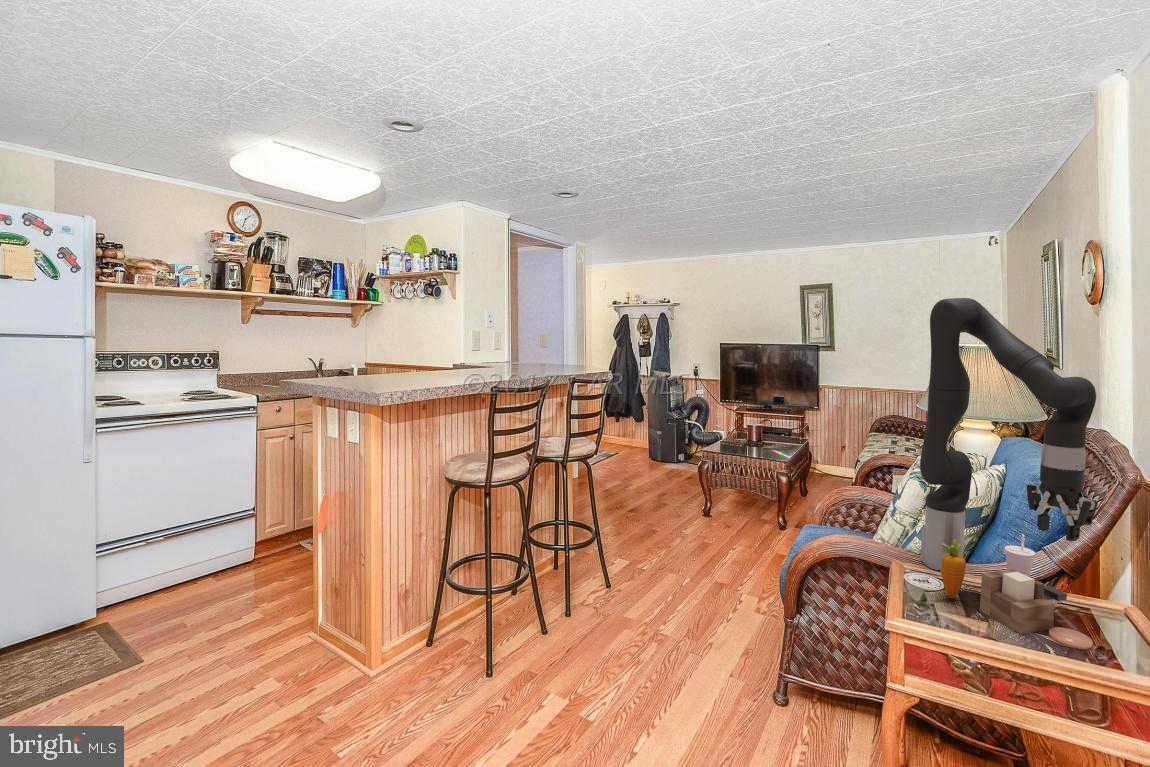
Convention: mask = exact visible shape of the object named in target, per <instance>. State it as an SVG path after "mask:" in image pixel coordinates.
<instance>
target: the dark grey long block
mask: <svg viewBox="0 0 1150 767" xmlns="http://www.w3.org/2000/svg"><path fill="white" fill-rule="evenodd" d="M1043 599H1045V600H1047V601H1050V602H1052V603H1054V604H1059V603H1063V601H1067V599H1068V593H1066V592H1064V591H1062V590H1060V589H1057V588H1056V587H1053V586H1050V585H1044V593H1043Z"/></svg>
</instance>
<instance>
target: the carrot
mask: <svg viewBox="0 0 1150 767" xmlns="http://www.w3.org/2000/svg"><path fill="white" fill-rule="evenodd" d="M942 546H944V547H945V548H946V549H947V550H948V551H949V553H946V554H944V555H943V556H942V559H941V570H942V571H941V579H942V583H943V587H944V590H945V592H946V594H947V596H948V597H949V599H951V600H952V599H954V598H955V597H957V595H958V593H960V590H961V588H962V585H963V582H964V579H965V573H966V563H967V562H966V559H965V558H964V556H963V557H961V556H960V555H957V553H958V551H959V550H960V548H961V545H960V544H958V543H957V540H955V539H954V540H953V545H951V547H950V548H949V547H948V546H947V545H946V544H942Z"/></svg>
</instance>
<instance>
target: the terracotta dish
mask: <svg viewBox="0 0 1150 767" xmlns="http://www.w3.org/2000/svg"><path fill="white" fill-rule="evenodd" d="M1048 636H1049V638H1050V639H1052V640H1053V641H1055V642H1056V643H1058V644H1061V645H1063V646H1065V645H1066V646H1065V647H1069V648H1072V649H1076V648H1077V649H1076V650H1089V649H1088V648H1090V647H1092V646H1093V645H1094V642H1093V640H1092V639H1091V638H1090V637H1089V636H1088V635H1086V634H1084V633H1082V632H1081V631H1077V630H1074V629H1072V628H1069V627H1068V628H1066V627H1059V626H1056V627H1054V626H1053V628H1050V629H1049V630H1048ZM1092 648H1093V647H1092Z"/></svg>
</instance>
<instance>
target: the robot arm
mask: <svg viewBox="0 0 1150 767" xmlns="http://www.w3.org/2000/svg"><path fill="white" fill-rule="evenodd" d="M929 330H930V331H929V332H930V334H929V335H930V350H931V351H930V367H929V369H930V370H929V383H928V391H927V392H928V393H927V394H928V395H927V415H926V423H925V424H926V425H925V431H924V438H923V443H922V447H921V448H922V449H921V453H920V458H919V470H920V474H921V477H922V479H923V480H924V482H926V483H927V484H929V485H933V486H936V485H937V486H939V487H938V488H937V489H935V490H934V491H931V492H929V493H928V494H927V495H925V512H924V514H925V515H924V528H921V538H920V539H921V540H920V541H921V542H920V561H922V562H923V564H924V565H925V566H926V567H927V568H930V569H932V570H934V569H935V571H937V570H940V571H939V572H942V570H941V559H942V556H943V555H944V554H946V553H949V551H948V550H947V549H946V548H945V547H944V546H942V544H946V545H947V546H948V547H949V548H950V547H951V545H953V540H954V539H955V540H957V543H958V544H960V545H961V548H960V550H959V551H958V553H957V555H960V556H961V557H963V558H964V549H965V546H964V545H965V525H966V524H965V523H966V507H967V506H966V505H967V504H968V502H969V500H970V495H971V494H970V493H971V485H972V478H973V476H972V475H973V472H972V471H973V468H972V463H971V461H970V459H969V457H968V455H967V454H966V453H965V452H963V451H960V450H947V447H948V441H949V439H950V435H951V433H952V432H953V430H954V429H955V428H956V426H957V425H958V424H959V422H960V421H961V420H962V419H963V417H964V415H965V414H966V412H967V411H968V409H969V403H970V394H971V381H970V377H969V373H968V371H967V369H966V367H965V366H964V363H963V361H962V358H961V354H960V336H961V333H967V334H969V335H970V336H972V337H974V338H976V339H978V340H979V341H981V342H982V343H984V344H985V346H987V348H988V349H989V351H990V352H991V354H992V355H993V357H994V359H995V360H996V362H997V363H999V365H1000V366H1001V367H1003V369H1005V370H1006V371H1008V372H1010V374H1012V375H1013V376H1014V377H1016V378H1018V380H1020V381H1021V382H1023V383H1024V385H1025V386H1026V387H1027V389H1028V390H1029V391H1030V392H1031V394H1033V396H1034V397H1035V398H1036V399H1037V400H1038V401H1040V403H1042V404H1044V405H1045V406H1046V407H1049V408H1052V409H1055V413H1054V415H1053V416H1052V417H1051V418H1049V419H1048V420H1047V421H1046V422H1045V424H1044V428H1043V429H1044V430H1043V444H1042V448H1041V452H1040V463H1039V464H1040V466H1039V481H1040V484H1039V483H1031V484H1030V483H1029V484H1027V485H1025V487H1026V488H1025V489H1026V493H1027V495H1026V496H1027V504H1028V508H1029V510H1031V511H1034V512H1035V513H1036V514H1037V517H1036V518H1037V519H1036V525H1037V527H1038V530H1039V531H1041V532H1046V531H1049V530H1050V520H1051V515H1050V513H1051V511H1052V510H1053V509H1054V508H1058V509H1060V510H1061V512H1062V514H1063V515H1064V516H1065V518H1066V521H1067V524H1066V535H1065V536H1066V537H1065V539H1066V541H1069V542H1076V541H1077V540H1079V539H1080V535H1081V527H1082V526H1091V525H1092V524H1093V521H1094V517H1095V514H1096V510H1097V508H1098V505H1099V504H1098V501H1097V500H1096V499H1095V500H1094V499H1091V500H1090V499H1089V498H1086V497H1084V495H1083V492H1082V489H1083V487H1084V485H1085V473H1086V472H1085V471H1086V436H1087V435H1086V434H1087V426H1088V424H1089V422H1090V420H1091V418H1092V415H1093V412H1094V409H1095V405H1096V402H1097V401H1096V400H1097V390H1096V388H1095V386H1094V384H1093V383H1092V382H1091V381H1090V380H1089V379H1087V378H1085V377H1082V376H1068V377H1066V376H1065V377H1062V376H1061V375H1060V374H1058V373H1056V372H1055V371H1054V369H1055V365H1054V363H1053V362H1052V360H1050V359H1049V358H1048V357H1047V356H1045V355H1044V354H1042V353H1040V352H1039V351H1038V350H1036V349H1034V347H1032V346H1030V345H1029V344H1028V343H1026V342H1024V341H1023V340H1021V339H1020V338H1019V337H1017V336H1016V335H1015V334H1014V333H1012V332H1011V331H1010V330H1009V329H1008V328H1006V327H1005V325H1003V324H1002V323H1001V322H1000V321H999V320H998V319H997V318H996V317H995V316H994V315H993V314H991V312H989V311H988V309H987V308H985V307H984V305H982V304H981V303H980V302H979V301H977V300H975V299H973V298H968V297H958V298H957V297H955V298H944V299H941V300H938V301H937V302H935V304H934V305H933V307H932V309H931V311H930V316H929ZM1079 503H1080V504H1079Z"/></svg>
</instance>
